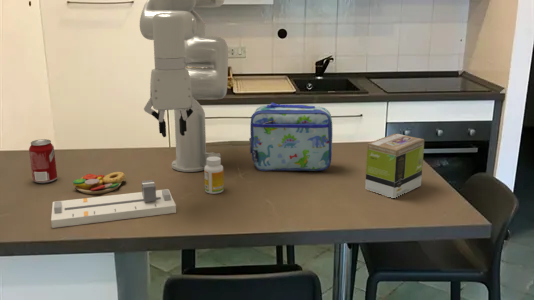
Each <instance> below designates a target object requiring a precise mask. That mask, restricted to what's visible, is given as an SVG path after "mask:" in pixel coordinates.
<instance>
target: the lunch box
mask: <svg viewBox="0 0 534 300" xmlns="http://www.w3.org/2000/svg"><path fill="white" fill-rule="evenodd" d="M249 125H250V134H249V135H250V137H249V154H251V159H252V162H253V164H254V167H255V168H256V169H257V170H259V171H260V172H261V171H263V172H266V171H293V172H294V171H297V172H299V171H301V172H302V171H303V172H304V171H305V172H306V171H311V172H313V171H317V172H319V171H320V172H321V171H325V170H327V169H329V167H330V166H331V163H332V155H333V154H332V153H333V119H332V114H331V112H330V110H329V109H327V108H326V107H323V106H320V105H313V104H310V105H309V104H277V103H276V102H271V103H270V104H264V105H260V106H258V107H257V108H256V109H255V111H254V112H253V113H252V114H251V118H250V124H249Z"/></svg>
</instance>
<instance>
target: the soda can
mask: <svg viewBox="0 0 534 300" xmlns="http://www.w3.org/2000/svg"><path fill="white" fill-rule="evenodd" d="M28 152H29V160H30V167H31V176H32V181H33V182H35V183H38V184H49V183H52V182H54V181H55V180H57V179H58V172H57V171H58V169H57V162H56V154H55V147H54V145H53V144H52V140H50V139H47V138H46V139H45V138H44V139H35V140H32V141H31V142H30V146H29V147H28Z"/></svg>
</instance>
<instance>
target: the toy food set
mask: <svg viewBox="0 0 534 300" xmlns="http://www.w3.org/2000/svg"><path fill="white" fill-rule="evenodd" d="M125 180H126V174H125V173H124V172H123V171H115V172H114V171H113V172H111V173H108V174H106V175H103V174H98V175H97V174H92V173H87V174H86V175H83V176H82V177H81V178H77V179H73V181H72V183H73V186H75V189H76V190H77V191H78V192H80V193H84V194H88V195H96V194H97V195H99V194H106V193H109V192H112V191H115V190H117V189H118V188H119V187H120V186H121V184H122V182H123V181H125Z"/></svg>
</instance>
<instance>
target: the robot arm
mask: <svg viewBox="0 0 534 300" xmlns="http://www.w3.org/2000/svg"><path fill="white" fill-rule="evenodd" d="M224 2H225V0H146V2H145V3H144V5H143V8H142V11H141V12H140V17H139V30H140V35H142V37H144V39H147V40H149V41H153V52H154V53H153V54H154V55H153V58H154V69H151V71H150V83H149V84H150V87H149V89H150V91H149V95H150V96H149V99H148V101H147V102H146V104H145V106H144V107H143V110H144V112H145V113H146V114H149V115H151V116H152V117H154V118H155V119H156V120H157V121H158V130H159V134H161V136H162V137H163V138H166V137H167V125H166V124H167V123H166V121H165V118H164V117H165V112H166V111H170V110H171V111H173V113H174V115H173V116H174V135H175V136H174V137H175V139H174V140H175V159H174V160H173V161H172V162H171V168H172V169H173V170H175V171H178V172H184V173H196V172H202V171H204V168H205V166H206V165H208V164H207V158H208V157H220V158H221V159H222V156H221V153H220V152H219V153H215V151H214V152H208V151H207V145H206V141H207V140H206V139H207V138H206V134H207V133H206V113H205V110H204V108H203V106H202V105H201V104H200V103H199V101H198V100H222V99H223V98H225V97H226V95H227V92H228V78H229V75H228V74H229V73H228V71H229V49H228V45H227V42H226V40H225V39H224V38H223V37H221V36H211V35H210V36H206V23H205V21H204V20H203V19H202V16H200V15H199V13H198V12H196V11H195V10H194V8H219V7H221V6H222V5H223V4H224ZM152 107H153V109H152Z"/></svg>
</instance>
